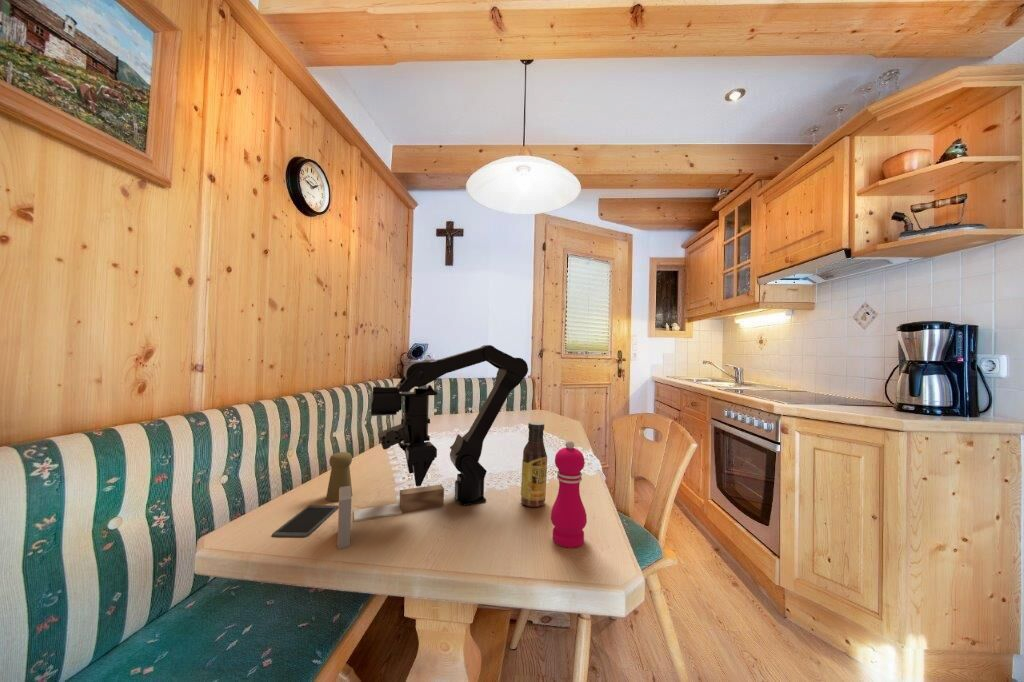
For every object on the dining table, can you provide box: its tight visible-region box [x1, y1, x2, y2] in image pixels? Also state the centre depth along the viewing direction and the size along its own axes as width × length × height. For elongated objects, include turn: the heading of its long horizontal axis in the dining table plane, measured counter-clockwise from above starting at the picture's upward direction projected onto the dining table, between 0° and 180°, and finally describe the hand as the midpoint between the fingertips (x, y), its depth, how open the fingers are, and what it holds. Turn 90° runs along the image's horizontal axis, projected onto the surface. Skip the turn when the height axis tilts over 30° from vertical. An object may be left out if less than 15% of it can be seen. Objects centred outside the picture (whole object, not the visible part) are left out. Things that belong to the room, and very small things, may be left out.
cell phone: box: [271, 504, 339, 539], centre depth 77 cm, size 7×14×1 cm, turn 1°
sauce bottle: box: [520, 421, 548, 508], centre depth 89 cm, size 7×6×20 cm
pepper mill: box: [550, 439, 588, 549], centre depth 72 cm, size 7×7×20 cm
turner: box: [353, 484, 445, 523], centre depth 83 cm, size 20×5×4 cm, turn 115°
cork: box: [325, 451, 353, 503], centre depth 89 cm, size 6×6×11 cm
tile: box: [336, 486, 353, 549], centre depth 70 cm, size 2×7×9 cm, turn 26°
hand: (414, 479), depth 85 cm, fingers open, 9 cm apart
